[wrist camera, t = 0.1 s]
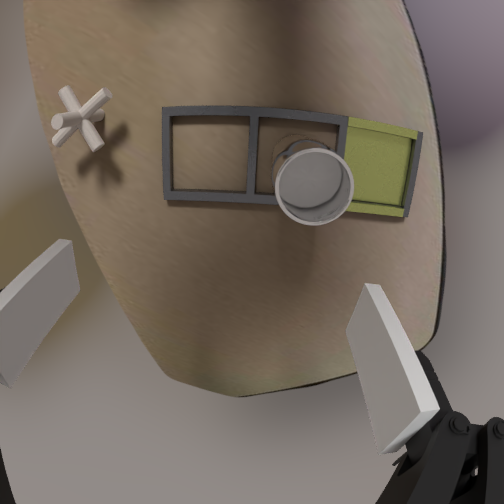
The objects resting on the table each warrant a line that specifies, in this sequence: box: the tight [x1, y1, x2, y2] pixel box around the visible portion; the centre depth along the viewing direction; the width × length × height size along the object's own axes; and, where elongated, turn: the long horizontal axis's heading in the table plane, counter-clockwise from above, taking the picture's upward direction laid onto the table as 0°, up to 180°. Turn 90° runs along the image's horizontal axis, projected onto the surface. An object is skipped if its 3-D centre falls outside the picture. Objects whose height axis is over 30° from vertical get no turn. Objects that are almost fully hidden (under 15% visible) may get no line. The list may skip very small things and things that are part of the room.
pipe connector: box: [51, 85, 112, 152], centre depth 29 cm, size 10×10×10 cm
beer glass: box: [271, 134, 354, 226], centre depth 30 cm, size 7×7×15 cm
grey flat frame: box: [162, 106, 423, 217], centre depth 36 cm, size 12×34×1 cm, turn 87°
